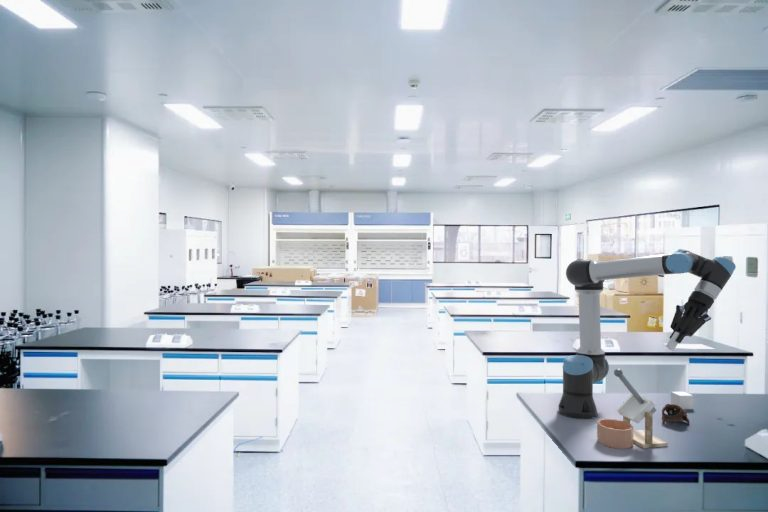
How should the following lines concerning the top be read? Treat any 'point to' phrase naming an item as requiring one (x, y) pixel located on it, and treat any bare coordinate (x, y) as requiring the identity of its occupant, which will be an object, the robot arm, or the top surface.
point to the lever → (634, 402)
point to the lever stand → (646, 434)
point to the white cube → (682, 399)
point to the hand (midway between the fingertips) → (669, 348)
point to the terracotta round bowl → (615, 433)
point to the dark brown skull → (674, 414)
